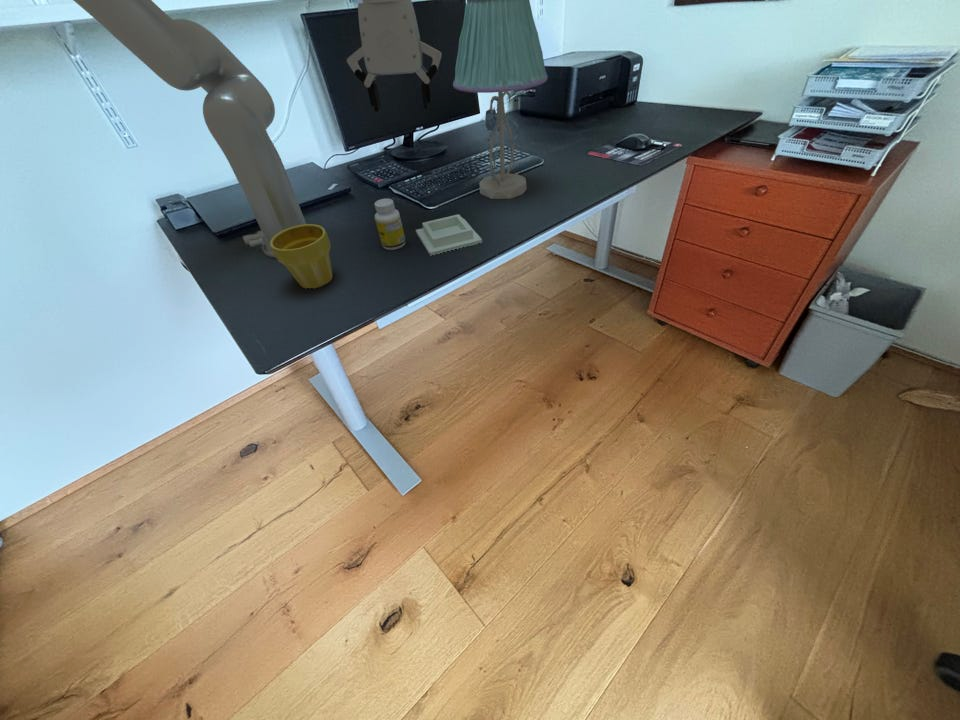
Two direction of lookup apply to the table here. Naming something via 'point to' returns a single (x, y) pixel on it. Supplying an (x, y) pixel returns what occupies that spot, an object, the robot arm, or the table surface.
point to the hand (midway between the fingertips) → (402, 108)
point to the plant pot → (304, 254)
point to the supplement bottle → (389, 225)
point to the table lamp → (499, 73)
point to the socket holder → (447, 234)
